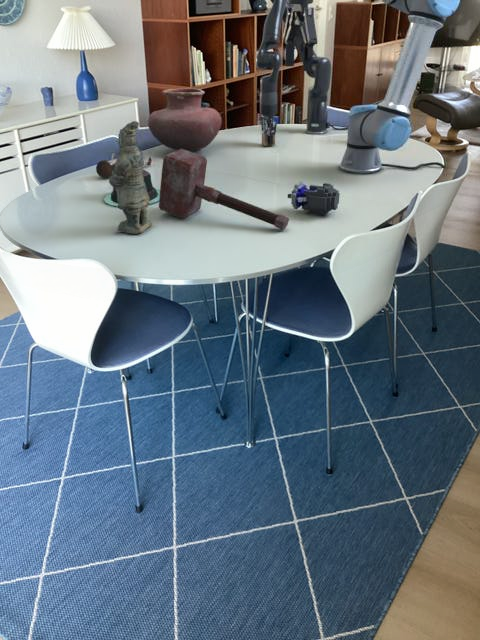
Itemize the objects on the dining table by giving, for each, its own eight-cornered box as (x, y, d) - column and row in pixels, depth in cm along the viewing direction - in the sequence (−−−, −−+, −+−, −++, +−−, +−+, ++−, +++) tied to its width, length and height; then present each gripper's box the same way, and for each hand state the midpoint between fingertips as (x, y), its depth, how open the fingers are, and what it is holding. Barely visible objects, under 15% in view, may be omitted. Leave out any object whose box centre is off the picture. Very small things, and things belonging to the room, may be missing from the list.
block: (271, 142, 250) (271, 132, 247) (274, 144, 246) (275, 134, 244) (261, 143, 248) (261, 133, 246) (265, 146, 245) (265, 135, 242)
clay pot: (228, 143, 251) (226, 84, 239) (213, 161, 226) (210, 95, 213) (163, 142, 256) (158, 84, 243) (142, 159, 231) (135, 95, 218)
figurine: (158, 154, 218) (111, 160, 199) (158, 173, 221) (112, 181, 202) (133, 150, 225) (86, 155, 206) (134, 169, 228) (87, 176, 209)
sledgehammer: (299, 190, 156) (179, 147, 167) (285, 200, 148) (161, 154, 160) (286, 244, 166) (174, 200, 177) (272, 256, 158) (156, 209, 170)
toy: (295, 178, 172) (342, 184, 166) (295, 205, 177) (340, 211, 171) (285, 186, 166) (333, 192, 160) (284, 213, 170) (331, 220, 164)
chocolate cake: (91, 202, 180) (113, 186, 197) (142, 231, 182) (160, 212, 199) (107, 162, 172) (129, 148, 190) (160, 192, 174) (177, 176, 192)
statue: (131, 220, 168) (117, 116, 152) (158, 224, 164) (147, 118, 149) (109, 233, 159) (93, 124, 144) (138, 237, 156) (124, 126, 140)
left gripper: (254, 100, 243) (255, 140, 252) (266, 106, 231) (266, 147, 240) (270, 99, 245) (270, 139, 254) (283, 104, 233) (282, 146, 242)
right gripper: (272, -11, 170) (272, 65, 180) (306, -13, 149) (303, 73, 160) (295, -12, 172) (293, 63, 182) (332, -13, 151) (327, 71, 162)
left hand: (268, 143), depth 247 cm, fingers closed on block, 4 cm apart
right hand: (298, 68), depth 171 cm, fingers open, 13 cm apart
